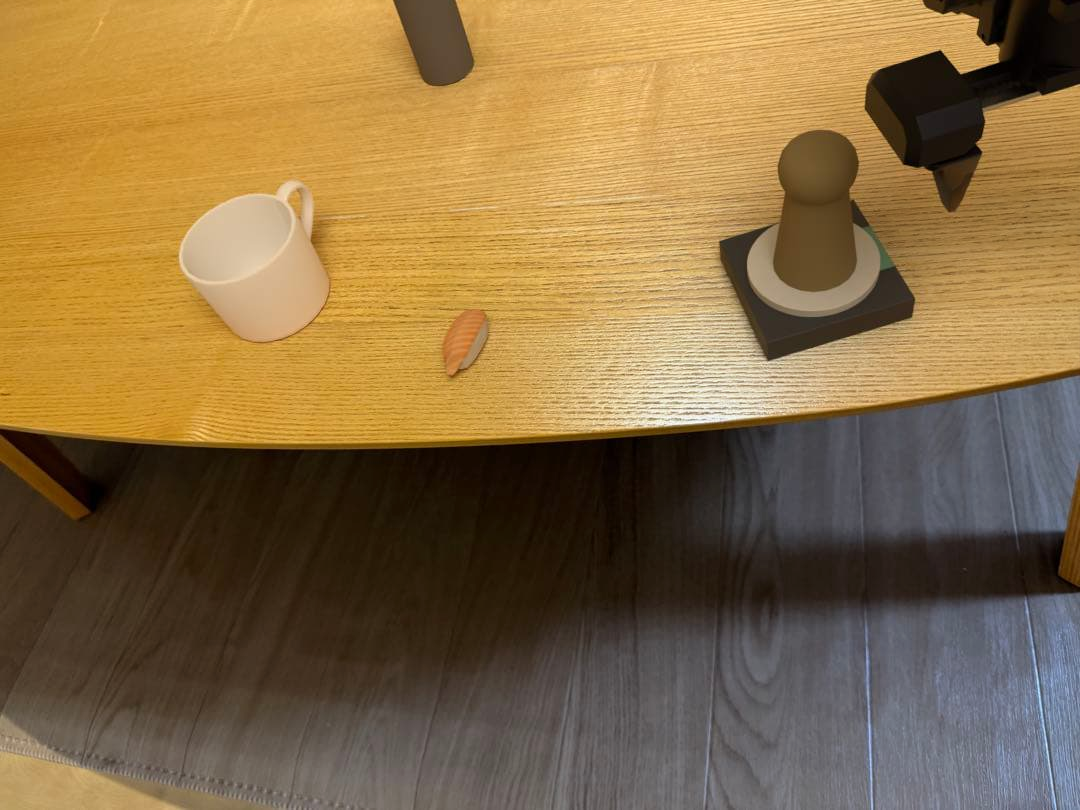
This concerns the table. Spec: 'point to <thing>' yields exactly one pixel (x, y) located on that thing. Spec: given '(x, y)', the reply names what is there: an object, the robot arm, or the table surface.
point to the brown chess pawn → (816, 212)
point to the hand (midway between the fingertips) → (1021, 184)
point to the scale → (814, 316)
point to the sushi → (464, 340)
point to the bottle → (436, 39)
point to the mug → (258, 263)
